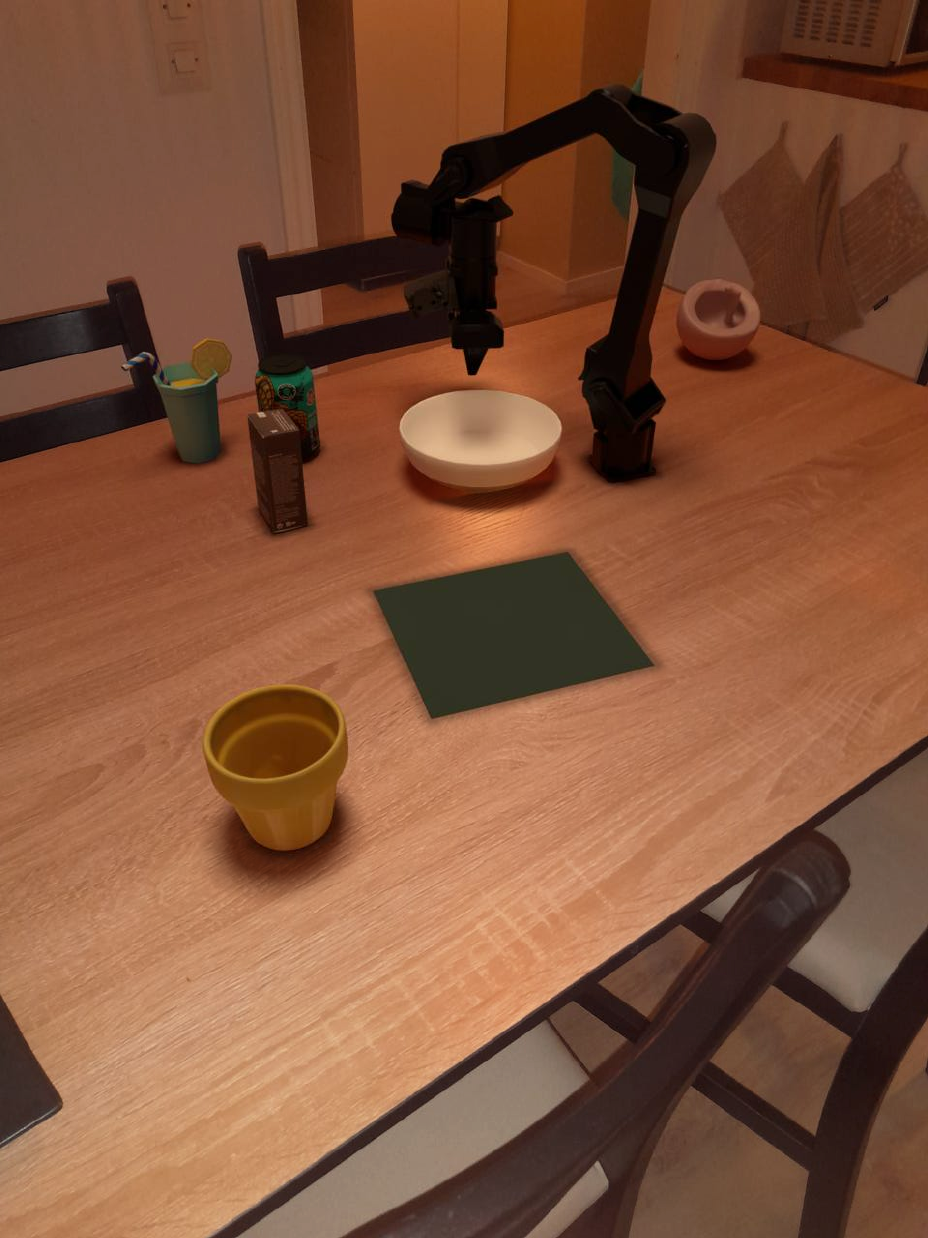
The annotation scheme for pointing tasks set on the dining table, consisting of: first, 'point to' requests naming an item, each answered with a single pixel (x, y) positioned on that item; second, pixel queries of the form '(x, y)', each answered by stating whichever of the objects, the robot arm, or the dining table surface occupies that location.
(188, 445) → the cup
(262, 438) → the box
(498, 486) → the bowl
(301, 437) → the green cylinder
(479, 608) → the mat
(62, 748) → the dining table surface
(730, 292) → the mortar and pestle
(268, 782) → the flower pot
